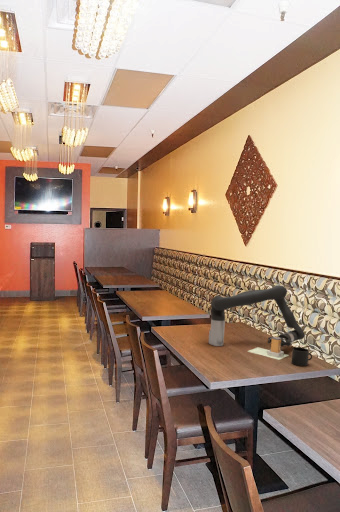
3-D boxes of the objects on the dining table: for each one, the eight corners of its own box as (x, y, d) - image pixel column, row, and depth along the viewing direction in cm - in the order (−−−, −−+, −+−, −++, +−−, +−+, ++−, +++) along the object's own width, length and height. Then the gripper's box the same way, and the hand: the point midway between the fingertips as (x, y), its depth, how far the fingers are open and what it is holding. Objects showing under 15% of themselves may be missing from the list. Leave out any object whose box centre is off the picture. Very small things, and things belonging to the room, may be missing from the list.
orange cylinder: (270, 354, 265) (271, 337, 264) (273, 353, 268) (274, 336, 267) (277, 356, 262) (278, 339, 261) (279, 355, 265) (281, 338, 264)
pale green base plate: (247, 353, 270) (247, 347, 270) (257, 349, 281) (258, 343, 280) (278, 362, 256) (279, 355, 256) (288, 357, 267) (289, 351, 266)
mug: (314, 367, 250) (315, 352, 250) (294, 366, 250) (295, 351, 249) (308, 361, 260) (309, 347, 259) (289, 361, 259) (290, 346, 259)
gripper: (276, 331, 280) (264, 334, 267) (296, 335, 270) (285, 339, 258) (275, 342, 280) (264, 346, 268) (296, 346, 271) (285, 351, 259)
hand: (274, 343), depth 263 cm, fingers open, 8 cm apart
